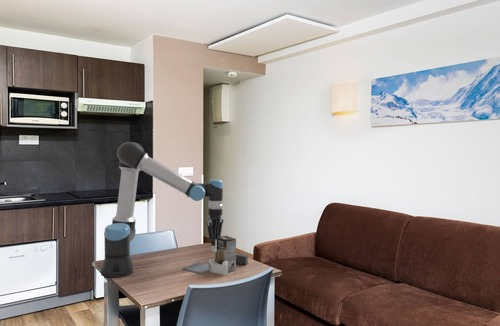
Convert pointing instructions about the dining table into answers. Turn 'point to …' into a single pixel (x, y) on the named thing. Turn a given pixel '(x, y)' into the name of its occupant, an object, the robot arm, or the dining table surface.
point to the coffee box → (226, 251)
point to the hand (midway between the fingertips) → (214, 251)
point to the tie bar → (240, 259)
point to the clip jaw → (218, 267)
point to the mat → (197, 268)
